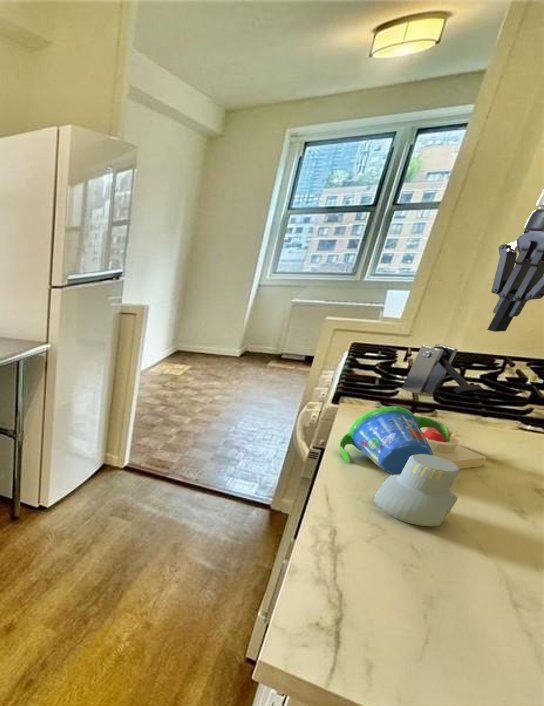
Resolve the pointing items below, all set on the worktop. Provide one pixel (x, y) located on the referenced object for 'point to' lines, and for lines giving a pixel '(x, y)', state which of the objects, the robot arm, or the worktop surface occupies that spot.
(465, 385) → the dark gray lever
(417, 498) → the air freshener
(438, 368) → the lever bracket
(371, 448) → the snack cup
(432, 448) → the button housing
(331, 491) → the worktop surface
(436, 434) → the button
